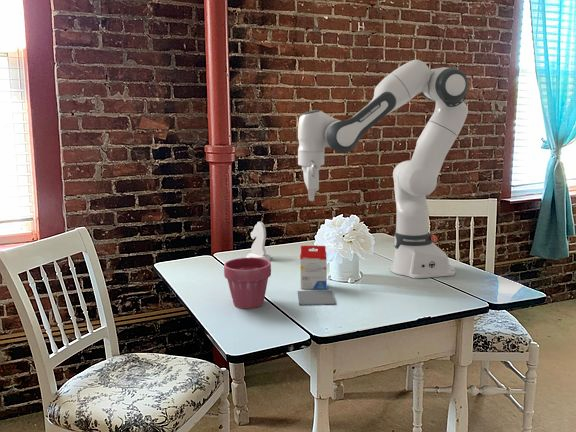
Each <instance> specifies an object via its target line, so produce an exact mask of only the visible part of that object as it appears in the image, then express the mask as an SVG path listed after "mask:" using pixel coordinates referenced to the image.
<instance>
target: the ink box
mask: <svg viewBox="0 0 576 432" xmlns="http://www.w3.org/2000/svg"><path fill="white" fill-rule="evenodd" d="M312 249H314V250H312ZM326 249H327V247H326V245H300V255H299V258H300V260H299V261H300V262H299V263H300V268H299V269H300V289H302V290H326V289H327V286H328V285H327V280H328V279H327V271H328V270H327V268H328V267H327V250H326Z"/></svg>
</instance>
